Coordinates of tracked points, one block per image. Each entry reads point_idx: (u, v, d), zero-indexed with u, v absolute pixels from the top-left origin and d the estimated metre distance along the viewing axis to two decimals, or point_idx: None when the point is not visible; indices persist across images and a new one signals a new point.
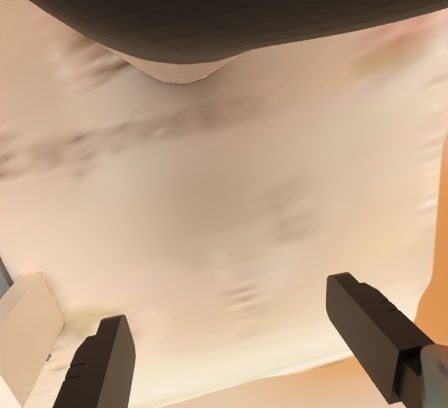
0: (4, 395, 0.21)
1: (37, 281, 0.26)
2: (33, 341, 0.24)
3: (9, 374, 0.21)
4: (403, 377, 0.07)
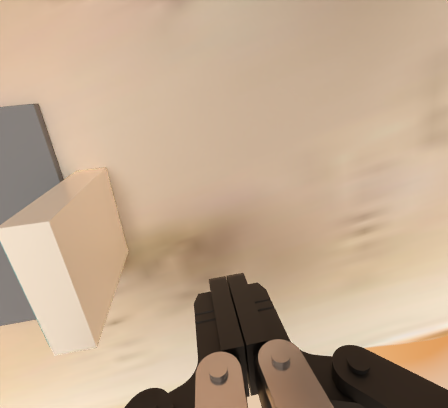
0: (72, 320, 0.12)
1: (102, 176, 0.18)
2: (102, 253, 0.16)
3: (81, 284, 0.13)
4: (254, 370, 0.08)
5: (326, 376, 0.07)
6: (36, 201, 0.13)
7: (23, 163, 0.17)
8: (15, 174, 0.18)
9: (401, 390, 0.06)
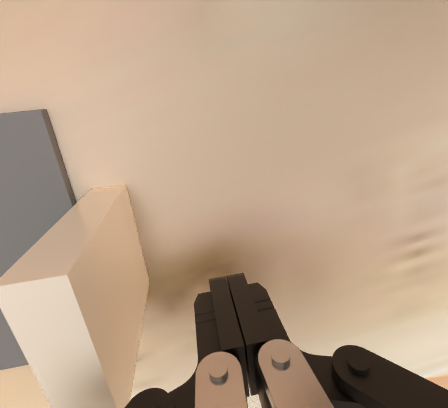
0: (94, 399, 0.09)
1: (123, 196, 0.15)
2: (126, 295, 0.13)
3: (105, 350, 0.09)
4: (254, 370, 0.08)
5: (326, 376, 0.07)
6: (46, 237, 0.10)
7: (27, 181, 0.14)
8: (17, 194, 0.14)
9: (401, 390, 0.06)
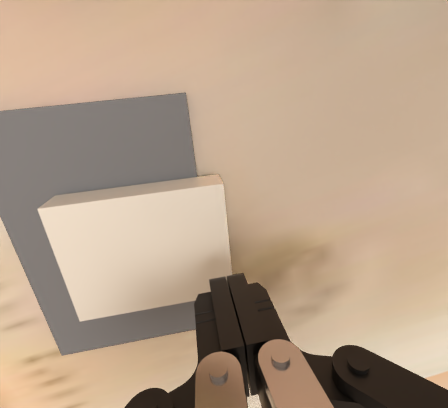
0: None
1: (201, 193, 0.14)
2: (141, 266, 0.15)
3: (73, 270, 0.14)
4: (254, 370, 0.08)
5: (326, 376, 0.07)
6: (108, 189, 0.15)
7: (163, 162, 0.15)
8: (152, 174, 0.15)
9: (401, 390, 0.06)
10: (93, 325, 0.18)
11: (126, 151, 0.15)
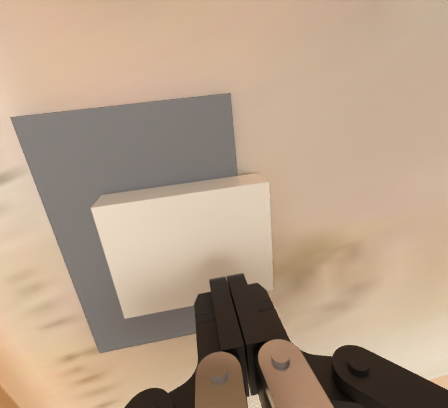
0: None
1: (247, 191, 0.14)
2: (186, 264, 0.15)
3: (121, 268, 0.14)
4: (254, 370, 0.08)
5: (326, 376, 0.07)
6: (153, 188, 0.15)
7: (205, 161, 0.15)
8: (194, 173, 0.16)
9: (401, 390, 0.06)
10: (131, 322, 0.18)
11: (171, 151, 0.15)
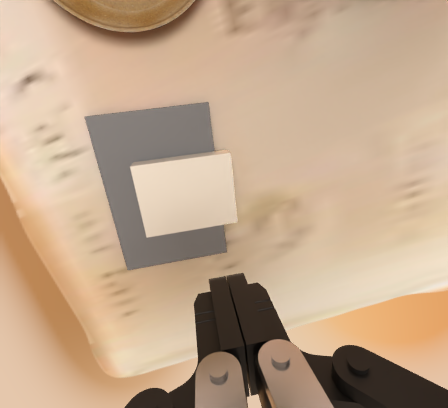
0: None
1: (218, 158, 0.24)
2: (183, 202, 0.25)
3: (145, 204, 0.25)
4: (254, 370, 0.08)
5: (326, 376, 0.07)
6: (163, 158, 0.25)
7: (194, 142, 0.26)
8: (188, 150, 0.26)
9: (401, 390, 0.06)
10: (148, 248, 0.29)
11: (174, 136, 0.25)
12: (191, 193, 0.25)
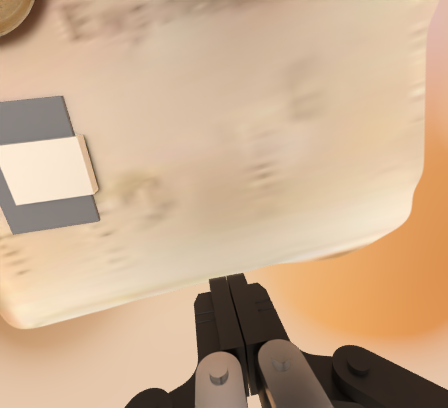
0: None
1: (66, 140, 0.30)
2: (43, 177, 0.31)
3: (10, 177, 0.31)
4: (254, 370, 0.08)
5: (326, 376, 0.07)
6: (27, 141, 0.31)
7: (54, 128, 0.32)
8: (49, 135, 0.32)
9: (401, 390, 0.06)
10: (28, 216, 0.35)
11: (35, 123, 0.31)
12: (48, 169, 0.31)
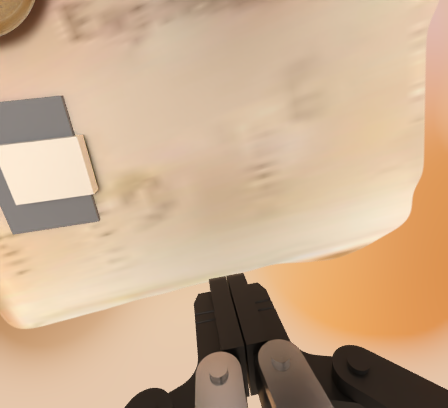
0: None
1: (66, 140, 0.30)
2: (43, 176, 0.31)
3: (10, 177, 0.31)
4: (254, 370, 0.08)
5: (326, 376, 0.07)
6: (27, 141, 0.31)
7: (54, 128, 0.32)
8: (49, 134, 0.32)
9: (401, 390, 0.06)
10: (28, 216, 0.35)
11: (35, 123, 0.31)
12: (48, 169, 0.31)
